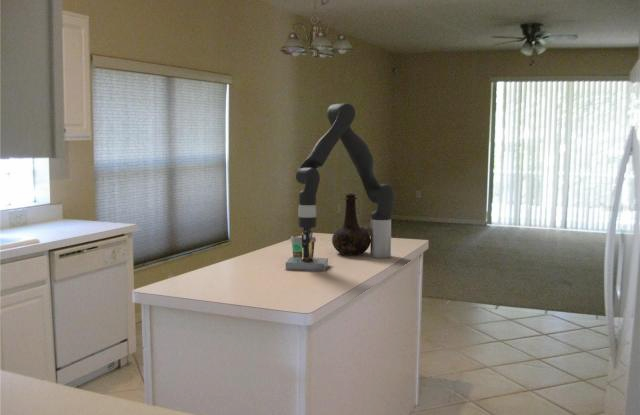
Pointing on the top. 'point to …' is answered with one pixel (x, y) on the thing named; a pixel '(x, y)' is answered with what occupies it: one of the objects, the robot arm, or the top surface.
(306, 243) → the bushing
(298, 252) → the food container
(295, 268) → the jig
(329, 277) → the top surface
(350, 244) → the glass bottle
